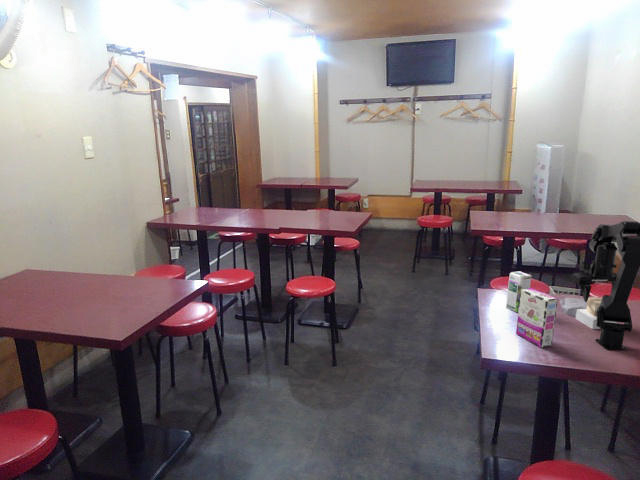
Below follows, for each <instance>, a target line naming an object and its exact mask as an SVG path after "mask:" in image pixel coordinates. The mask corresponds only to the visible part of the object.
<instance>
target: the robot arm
mask: <svg viewBox="0 0 640 480" xmlns="http://www.w3.org/2000/svg"><path fill="white" fill-rule="evenodd" d="M634 235H636V236H634ZM615 243H616V244H615ZM588 247H589V248H590V250H591V251H592V252H593V253H594V254H595V255H596V256H595V259H592V261H591V263H588V261H580V262H579V265H578V266H579V270H580V271H584V272H574V273H573V274H572V275H571V281H572V282H574V283H575V284H577V285H578V286H579V288H580V289H581V290H580V291H581V295H582V297H583V299H584V301H585V302H588V298H590V294H591V291H592V285H591V284H592V282H611V290H610V294H609V295H608V294H604V295H602V297H601V298H602V301H601V303H600V306H599V307H598V309H597V311H596V313H597V324H596V326H597V327H600V328H601V329H600V330H601V331H600V337H599V338H596V339H595V342H596V343H597V344H599V345H600V346H602V347H603V348H604V349H605V350H607V351H609V350H610V351H611V350H612V351H613V350H627V347H626V346H625V345H624V337H625V332H628V333H631V332H632V330H633V322H632V321H633V320H632V314H631V309H630V306H629V304H628V300H629V298H630V297H631V296H630V295H631V293H632V291H633V288H634V284H635V283H636V279H637V277H638V274H639V271H640V222H638V221H632V220H631V221H630V220H623V221H620V222H619V223H614V224H603V223H600V224H599V225H598V227H596V228H595V230H594V231H593V233H592V235H591V240H590V241H589V246H588ZM617 251H618V252H619V255H620V257H621V262H620V265H619V268H618V272H614V269H617V266H618V265H617V264H616V263H615V262H616V255H617ZM604 321H613V322H617V323H608V322H604Z"/></svg>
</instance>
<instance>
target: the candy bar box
mask: <svg viewBox="0 0 640 480" xmlns="http://www.w3.org/2000/svg"><path fill="white" fill-rule="evenodd" d="M558 301H559V298H556V297H554V296H552V295H549V294H548V293H544V292H541V291H539V290H537V289H535V288H532V287H530V288H528V289H522V290H521V293H520V302H519V312H517V313H518V314H517V321H516V322H517V323H516V331H515V334H516V335H517V336H519V337H521V338H523V339H524V340H526V341H528V342H529V343H532V344H533V345H535V346H537V347H539V348H542V349H543V348H546V347H552V345H553V339H554V338H553V337H554V331H555V324H556V323H555V322H556V317H557V316H556V315H557V310H558V309H557V308H558Z"/></svg>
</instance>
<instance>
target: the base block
mask: <svg viewBox="0 0 640 480" xmlns="http://www.w3.org/2000/svg"><path fill="white" fill-rule="evenodd" d="M575 319H576V320H577V321H579V322H580V323H582V324H584V325H585V326H587V327H588V328H590V329H591V330H598V329H599V330H601V328H600V327H597V326H596V324H597V316H593V315H592V314H590V313H589V312H587V311H586V309H577V312H576V316H575ZM604 322H608V323H618V322H613V321H604Z"/></svg>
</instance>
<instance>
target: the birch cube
mask: <svg viewBox="0 0 640 480" xmlns="http://www.w3.org/2000/svg"><path fill="white" fill-rule="evenodd" d="M601 301H602V297H589V298H588V301H587V308H586V311H587V312H589V313H590V314H592V315H593V316H597V313H596V311H597V309H598V307H599V306H600V303H601Z"/></svg>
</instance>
